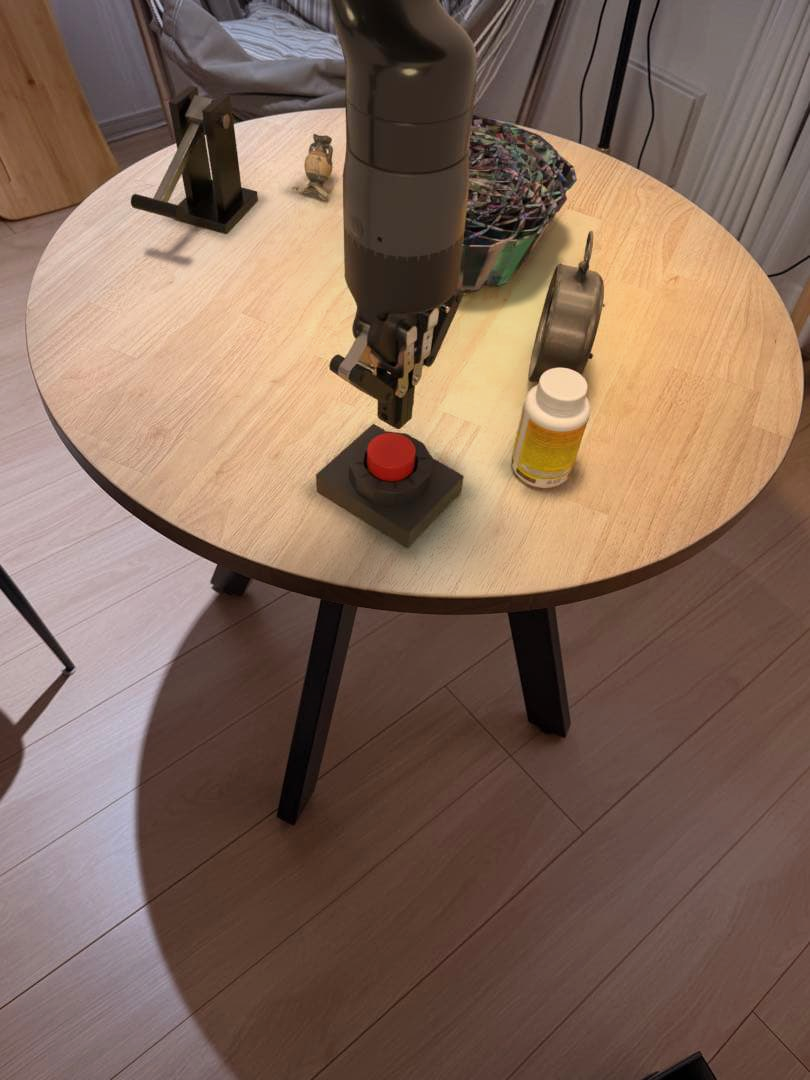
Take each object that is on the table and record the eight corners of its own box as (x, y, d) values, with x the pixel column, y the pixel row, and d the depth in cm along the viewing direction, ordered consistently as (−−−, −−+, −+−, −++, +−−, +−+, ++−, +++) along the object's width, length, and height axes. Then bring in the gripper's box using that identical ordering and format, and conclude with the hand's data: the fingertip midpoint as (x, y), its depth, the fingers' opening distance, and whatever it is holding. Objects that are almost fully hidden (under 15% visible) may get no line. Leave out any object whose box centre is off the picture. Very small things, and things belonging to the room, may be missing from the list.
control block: (461, 492, 70) (466, 461, 67) (407, 548, 66) (410, 519, 63) (372, 440, 73) (373, 408, 70) (316, 491, 69) (314, 460, 66)
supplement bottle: (579, 486, 71) (608, 402, 63) (520, 495, 70) (542, 411, 62) (559, 442, 74) (584, 357, 66) (502, 449, 73) (520, 364, 65)
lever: (181, 226, 84) (173, 211, 81) (136, 213, 85) (126, 198, 82) (233, 119, 87) (226, 102, 84) (189, 108, 88) (181, 91, 85)
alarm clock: (532, 342, 83) (566, 195, 70) (584, 351, 82) (627, 205, 69) (520, 413, 76) (555, 266, 63) (576, 423, 76) (622, 277, 63)
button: (423, 461, 67) (425, 447, 66) (395, 489, 65) (396, 475, 64) (386, 439, 68) (387, 425, 67) (357, 466, 66) (357, 452, 65)
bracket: (226, 234, 92) (210, 121, 81) (173, 219, 93) (150, 107, 83) (258, 200, 96) (246, 89, 86) (207, 187, 97) (189, 76, 87)
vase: (312, 172, 101) (310, 124, 96) (349, 184, 99) (349, 136, 95) (290, 191, 98) (286, 143, 93) (328, 204, 96) (326, 155, 92)
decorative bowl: (563, 208, 102) (581, 128, 94) (553, 327, 84) (575, 239, 76) (369, 180, 103) (372, 99, 96) (318, 291, 85) (316, 202, 78)
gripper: (386, 291, 44) (381, 492, 58) (513, 194, 50) (481, 396, 64) (285, 240, 46) (303, 445, 60) (419, 154, 53) (407, 356, 67)
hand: (395, 419), depth 62 cm, fingers closed
